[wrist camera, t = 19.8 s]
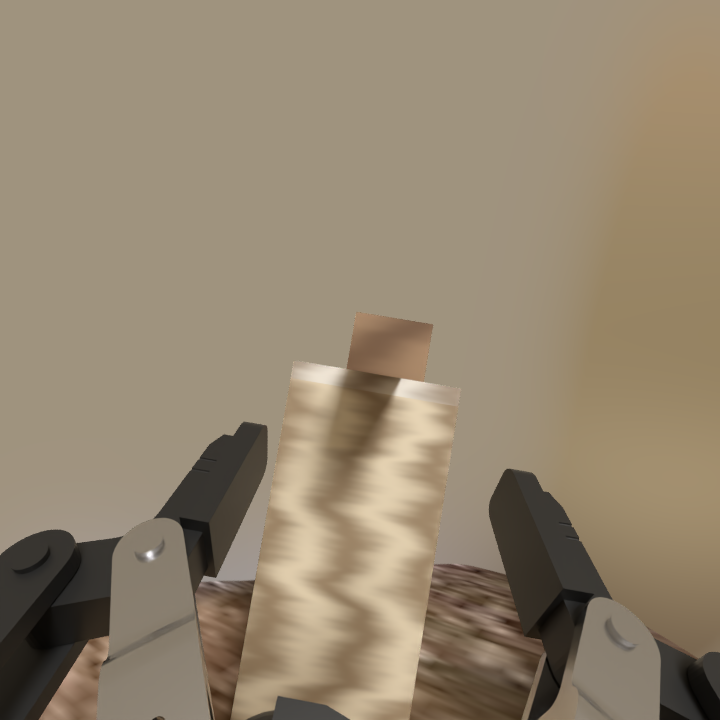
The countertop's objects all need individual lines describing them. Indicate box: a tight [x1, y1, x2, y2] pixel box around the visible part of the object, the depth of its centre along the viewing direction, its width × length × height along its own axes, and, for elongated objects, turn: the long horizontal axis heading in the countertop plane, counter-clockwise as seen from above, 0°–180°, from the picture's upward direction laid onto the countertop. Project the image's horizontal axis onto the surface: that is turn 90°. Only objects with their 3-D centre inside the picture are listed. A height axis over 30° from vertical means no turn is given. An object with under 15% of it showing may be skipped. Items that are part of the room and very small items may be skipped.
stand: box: [231, 361, 461, 720], centre depth 34 cm, size 14×16×32 cm
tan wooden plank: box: [347, 312, 433, 382], centre depth 29 cm, size 5×25×3 cm, turn 179°
